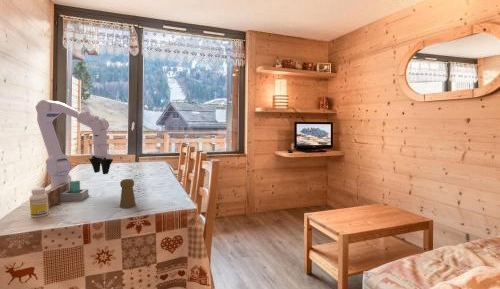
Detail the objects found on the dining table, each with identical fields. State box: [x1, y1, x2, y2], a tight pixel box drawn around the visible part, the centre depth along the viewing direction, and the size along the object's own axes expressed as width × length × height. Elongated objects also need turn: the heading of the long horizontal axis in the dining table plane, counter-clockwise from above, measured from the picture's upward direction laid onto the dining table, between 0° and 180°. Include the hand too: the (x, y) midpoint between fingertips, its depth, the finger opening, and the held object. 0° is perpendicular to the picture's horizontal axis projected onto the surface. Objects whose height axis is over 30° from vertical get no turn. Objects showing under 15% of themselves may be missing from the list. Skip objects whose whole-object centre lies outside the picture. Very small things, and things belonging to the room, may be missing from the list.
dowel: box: [69, 179, 81, 193], centre depth 130 cm, size 4×4×7 cm
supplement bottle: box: [29, 187, 50, 218], centre depth 106 cm, size 5×5×10 cm
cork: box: [119, 178, 137, 209], centre depth 118 cm, size 6×6×11 cm
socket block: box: [59, 188, 89, 202], centre depth 130 cm, size 9×9×4 cm
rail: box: [45, 183, 69, 209], centre depth 124 cm, size 22×2×6 cm, turn 12°
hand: (101, 173), depth 138 cm, fingers open, 7 cm apart
